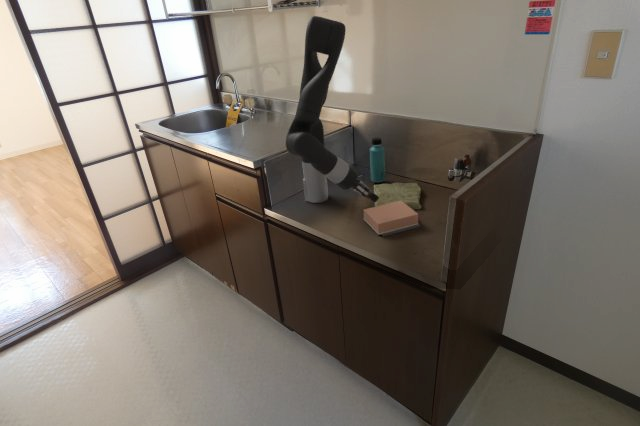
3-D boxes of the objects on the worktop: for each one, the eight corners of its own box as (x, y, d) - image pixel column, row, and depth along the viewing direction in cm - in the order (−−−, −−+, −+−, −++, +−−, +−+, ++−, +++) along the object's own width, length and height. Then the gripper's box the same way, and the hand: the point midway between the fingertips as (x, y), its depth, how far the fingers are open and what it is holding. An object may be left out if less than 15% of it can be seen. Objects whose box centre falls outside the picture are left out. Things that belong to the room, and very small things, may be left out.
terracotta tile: (378, 224, 127) (418, 214, 130) (363, 209, 137) (400, 200, 141) (378, 234, 129) (418, 224, 132) (363, 219, 139) (400, 210, 143)
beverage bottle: (382, 186, 165) (380, 141, 156) (368, 184, 168) (366, 140, 159) (388, 180, 170) (387, 136, 160) (374, 179, 173) (372, 135, 164)
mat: (382, 236, 129) (382, 234, 129) (366, 219, 140) (366, 217, 140) (419, 226, 132) (419, 224, 132) (401, 211, 143) (401, 209, 143)
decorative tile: (374, 212, 146) (374, 204, 144) (373, 190, 163) (373, 182, 162) (425, 210, 143) (425, 202, 142) (418, 188, 161) (418, 180, 159)
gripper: (355, 170, 115) (392, 198, 124) (340, 157, 126) (375, 183, 135) (340, 189, 116) (378, 216, 125) (326, 175, 128) (361, 200, 136)
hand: (376, 199), depth 130 cm, fingers closed
